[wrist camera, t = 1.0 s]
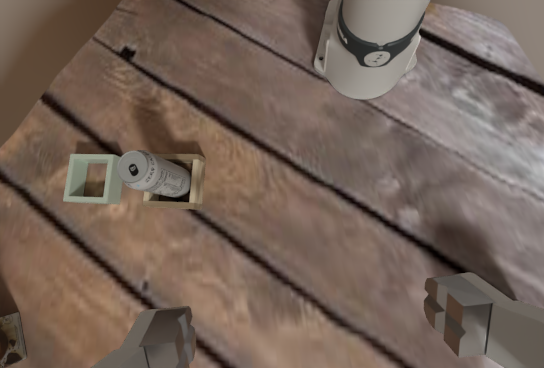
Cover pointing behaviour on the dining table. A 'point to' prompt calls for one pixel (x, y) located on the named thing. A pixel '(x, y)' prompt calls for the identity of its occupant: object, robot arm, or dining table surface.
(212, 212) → the dining table surface
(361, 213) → the dining table surface
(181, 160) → the birch holder
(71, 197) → the sage socket
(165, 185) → the energy drink can
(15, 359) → the coffee box
